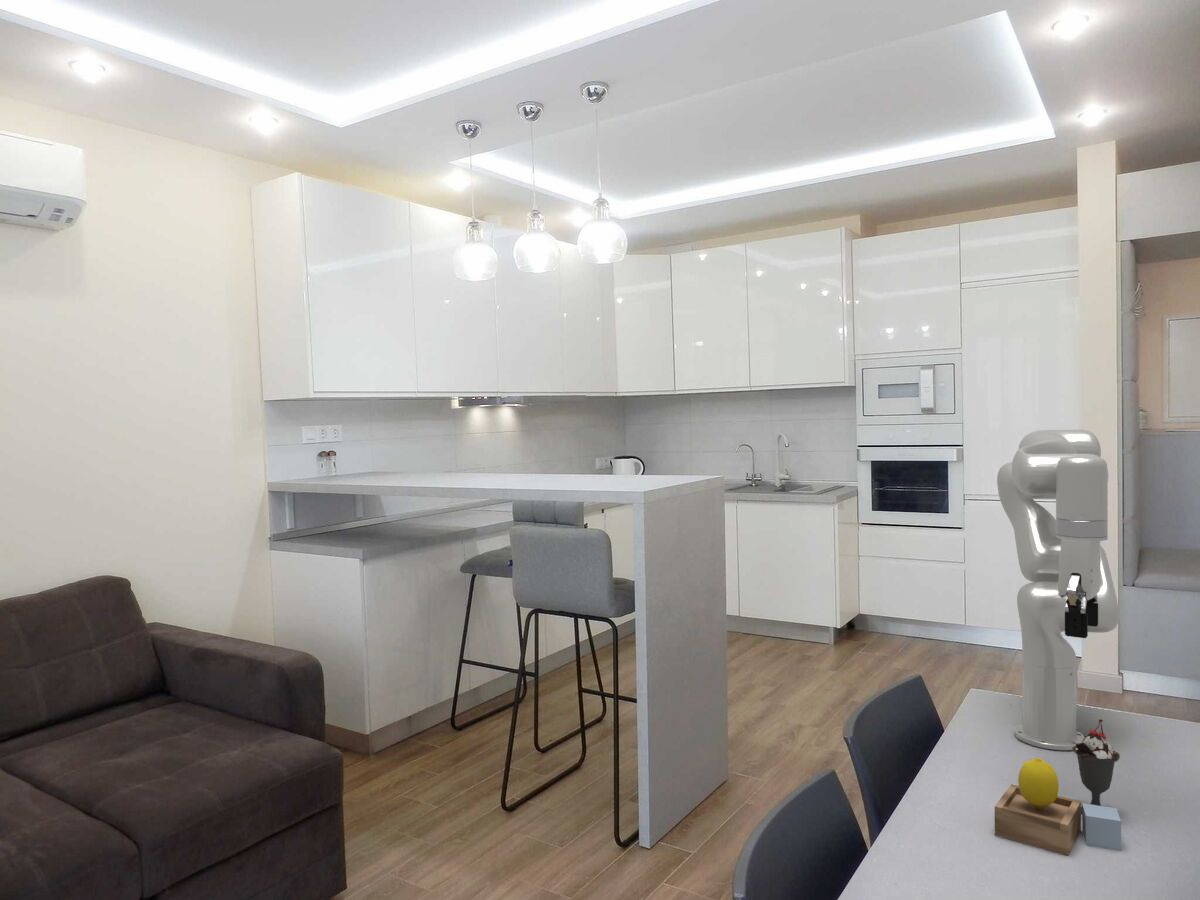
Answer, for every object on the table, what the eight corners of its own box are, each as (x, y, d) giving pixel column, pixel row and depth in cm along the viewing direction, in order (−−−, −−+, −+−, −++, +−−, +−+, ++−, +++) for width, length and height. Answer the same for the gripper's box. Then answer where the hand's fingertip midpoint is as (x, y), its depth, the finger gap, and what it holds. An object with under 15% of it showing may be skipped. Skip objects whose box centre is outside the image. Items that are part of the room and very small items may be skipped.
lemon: (1064, 818, 125) (1064, 766, 125) (1024, 815, 126) (1024, 764, 126) (1051, 802, 130) (1051, 752, 130) (1013, 799, 131) (1013, 749, 131)
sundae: (1113, 807, 136) (1113, 716, 135) (1125, 825, 129) (1124, 731, 129) (1068, 801, 138) (1068, 713, 137) (1077, 820, 131) (1077, 726, 131)
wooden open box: (1011, 811, 135) (1011, 784, 135) (1081, 829, 128) (1081, 801, 128) (994, 835, 127) (994, 806, 127) (1068, 855, 121) (1067, 825, 121)
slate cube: (1082, 831, 128) (1082, 803, 128) (1116, 837, 126) (1116, 808, 126) (1085, 845, 124) (1085, 815, 124) (1121, 851, 122) (1121, 821, 122)
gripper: (1066, 523, 148) (1067, 618, 148) (1045, 533, 134) (1045, 638, 135) (1115, 526, 143) (1116, 624, 143) (1098, 536, 129) (1098, 645, 130)
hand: (1081, 630), depth 139 cm, fingers open, 9 cm apart
